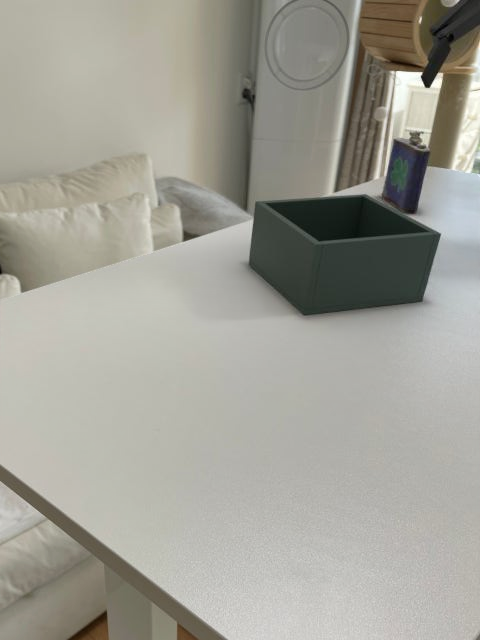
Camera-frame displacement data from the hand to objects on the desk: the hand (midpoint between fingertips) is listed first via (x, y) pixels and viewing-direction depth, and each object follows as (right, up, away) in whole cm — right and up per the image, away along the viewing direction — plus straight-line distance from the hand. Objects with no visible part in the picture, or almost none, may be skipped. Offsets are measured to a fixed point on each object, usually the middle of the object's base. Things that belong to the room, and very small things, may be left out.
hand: (466, 87), depth 97 cm
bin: (-26, -34, -21) cm, 48 cm away
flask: (-8, -16, +5) cm, 19 cm away
